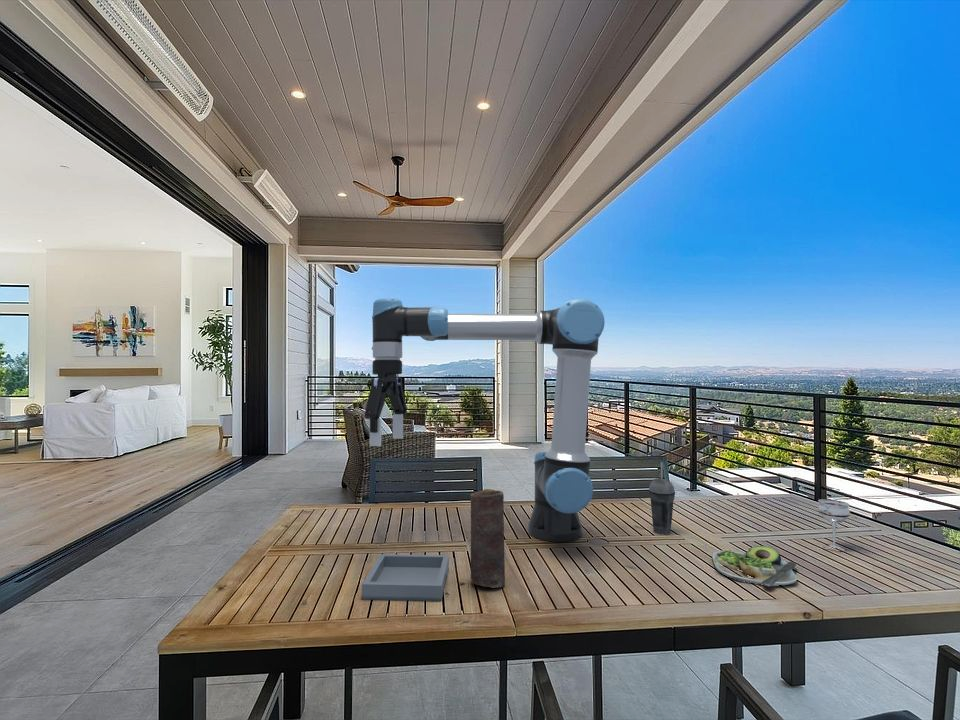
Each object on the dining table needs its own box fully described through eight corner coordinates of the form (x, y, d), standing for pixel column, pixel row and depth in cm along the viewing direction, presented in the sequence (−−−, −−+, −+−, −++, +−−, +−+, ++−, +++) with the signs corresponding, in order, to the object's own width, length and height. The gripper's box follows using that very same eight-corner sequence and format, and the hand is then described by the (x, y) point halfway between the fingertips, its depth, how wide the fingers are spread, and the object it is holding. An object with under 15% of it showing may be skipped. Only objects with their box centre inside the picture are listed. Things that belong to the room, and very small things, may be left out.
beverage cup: (648, 534, 135) (647, 463, 136) (649, 526, 142) (648, 459, 142) (675, 537, 132) (675, 465, 133) (675, 530, 139) (675, 461, 140)
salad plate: (813, 601, 96) (813, 578, 96) (715, 585, 103) (715, 564, 103) (793, 566, 114) (792, 546, 114) (710, 554, 121) (710, 536, 121)
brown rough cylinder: (479, 594, 97) (480, 496, 98) (463, 581, 104) (464, 488, 104) (511, 587, 101) (511, 492, 101) (494, 574, 107) (494, 485, 108)
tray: (448, 568, 110) (449, 555, 111) (441, 601, 94) (441, 585, 95) (380, 567, 111) (380, 554, 111) (361, 599, 95) (362, 584, 95)
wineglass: (852, 548, 125) (851, 502, 125) (849, 555, 120) (848, 507, 120) (820, 542, 130) (819, 497, 130) (816, 548, 125) (815, 502, 125)
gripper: (393, 360, 135) (393, 435, 135) (350, 357, 111) (349, 449, 111) (418, 360, 134) (418, 436, 133) (379, 357, 109) (379, 450, 109)
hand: (387, 442), depth 122 cm, fingers open, 13 cm apart
